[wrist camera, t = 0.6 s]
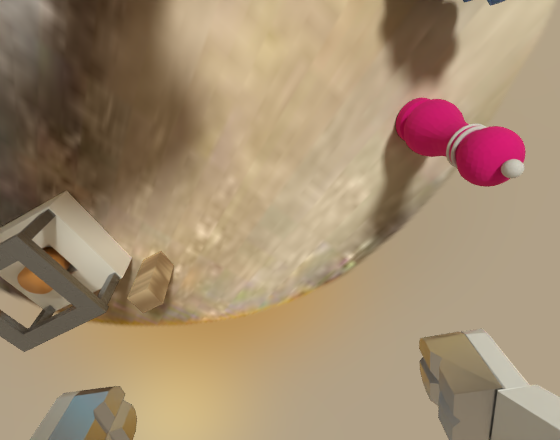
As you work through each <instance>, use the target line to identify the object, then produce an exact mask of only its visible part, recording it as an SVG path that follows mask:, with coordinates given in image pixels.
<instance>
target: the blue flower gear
mask: <svg viewBox="0 0 560 440" xmlns="http://www.w3.org/2000/svg"><path fill="white" fill-rule="evenodd" d="M463 1H464V2H468V1H471V0H463ZM487 1H488V3H489V4H490V5H494V4H498V3H500V2H503V1H505V0H487Z"/></svg>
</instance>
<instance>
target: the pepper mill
mask: <svg viewBox="0 0 560 440" xmlns="http://www.w3.org/2000/svg"><path fill="white" fill-rule="evenodd" d="M396 131H397V133H398V135H399V136H400V138H401V139H403V140H404V141H405V142H406V144H407V145H408V147H409V148H410V149H411V150H412V151H414V152H416V153H418V154H420V155H423V156H430V157H434V156H446V157H447V160H448V161H449V163H450V164H451V165H452V166H454V167H456V168H457V169H458V171H459V173H460V174H461V176H462V177H463V178H464V179H466V180H467V181H469V182H470V183H472V184H475V185H479V186H495V185H498V184H501V183H503V182H505V181H507V180H509V179H510V178H516V177H519V176H520V175H521V174H522V173H523V171H524V165H523V162H524V159H525V146H524V144H523V141H522V140H521V138H520V137H519V136H518V135H517V134H516V133H515V132H513V131H511V130H509V129H507V128H504V127H498V126H494V127H486V126H483V125H481V124H470V125H469V124H467V123H466V122H465V121H464V118H463V115H462V113H461V112H460V111H459V109H458V108H457V107H456V106H455V105H454V104H452V103H450V102H448V101H446V100H442V99H432V100H430V99H427V98H417V99H414V100H412V101H410V102H408V103H407V104H406V105H405V106H404V107H403V108H402V109H401V111H400V112H399V114H398V116H397V120H396Z"/></svg>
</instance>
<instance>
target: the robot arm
mask: <svg viewBox="0 0 560 440" xmlns="http://www.w3.org/2000/svg"><path fill="white" fill-rule="evenodd" d="M419 349H420V351H421V353H422V355H423V358H422V359H421V360H420V372H421V377H422V381H423V384H424V386H425V389H426V392H427V394H428V396H429V398H430V400H431V401H432V402H434V403H435V404H436V405H438V409H439V410H438V412H439V413H438V416H439V417H438V418H439V420H440V422H441V424H442V426H443V428H444V430H445V432H446V435H447V437H448V439H449V440H560V397H559V396H557V395H555V394H553V393H551V392H550V391H548V390H546V389H544V388H542V387H541V386H539V385H529V383H528V382H527V381H526V380H525V379H524V377H523V376H522V375H521V374H520V372H519V371H518V370H517V369H516V367H515V366H514V365H513V364H512V362H511V361H510V360H509V359H508V358H507V356H506V355H505V354H504V353H503V351H502V350H501V349H500V348H499V347H498V345H497V344H496V343H495V341H494V340H493V339H492V338H491V337H490V335H489V334H488V333H487V332H486V331H485V330H483V329H482V328H480V329H474V330H468V331H461V332H453V333H447V334H441V335H436V336H430V337H424V338H421V339H420V341H419ZM124 396H125V393H124V391H123V390H122V388H121V387H120V386H114V387H106V388H98V389H90V390H82V391H76V392H69V393H64V394H62V395H61V396H60V397H58V398H57V400H56V401H55V403H54V404H53V406H52V407H51V409H50V410H49V412H48V413H47V415H46V416H45V418H44V419H43V421H42V422H41V424H40V425H39V427H38V428H37V430H36V431H35V433H34V434H33V436H32V437H31V439H30V440H133V437H134V434H135V432H136V423H137V416H136V412H135V409H134V407H133V406H132V404H130V403H128V402H126V401H124V400H123V399H124Z"/></svg>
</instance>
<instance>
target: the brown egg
mask: <svg viewBox="0 0 560 440" xmlns="http://www.w3.org/2000/svg"><path fill="white" fill-rule="evenodd" d="M43 250H44V251H45V252H46V253H47V254H49V255H50V256H51V257H52V258H53V259H54V260H55V261H57V262H58V263H59V264H60V265H61V266H62V267H64V268H65V269H66V270H67V269H68V268H69V266H70V264H71V263H70V262H68V261H67V260H66V259H65V258H64V257H63V256H62V255H61V254H59V253H58V252H57V251H56V250H55V249H54V248H53V247H46V248H43ZM17 280H18V283H19V284H20V286H21V287H22V288H24V289H25V290H27V291H29V292H31V293H35V294H46V293H48V292H50V291H52V290H53V289H52V288H51V287H50V286H49V285H48V284H46V283H45V282H44V281H43V280H41V279H40V278H39V277H38V276H36V275H35V274H34V273H33V272H32V271H30V270H29V269H28V268H27V267H25V268H24V269H23V270H22V271H21V272H20V273H19V274H18V277H17Z"/></svg>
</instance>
